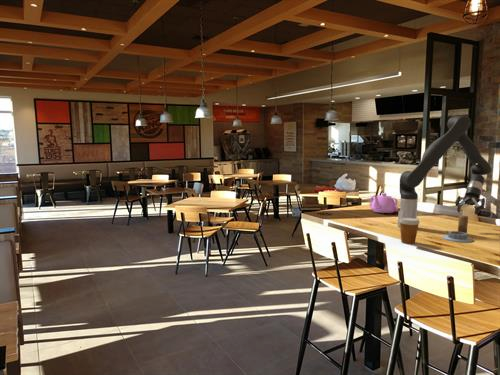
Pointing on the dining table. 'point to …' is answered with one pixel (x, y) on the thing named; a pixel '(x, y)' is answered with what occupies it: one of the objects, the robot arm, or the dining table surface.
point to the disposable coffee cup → (408, 229)
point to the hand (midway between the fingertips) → (467, 212)
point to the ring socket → (457, 237)
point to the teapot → (383, 204)
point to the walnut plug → (463, 224)
